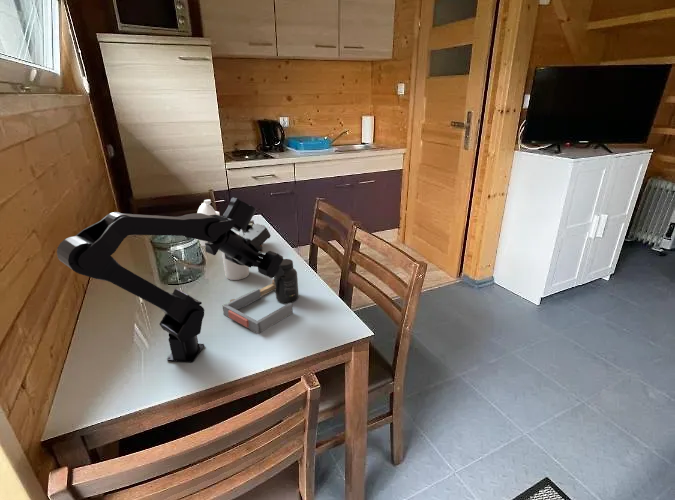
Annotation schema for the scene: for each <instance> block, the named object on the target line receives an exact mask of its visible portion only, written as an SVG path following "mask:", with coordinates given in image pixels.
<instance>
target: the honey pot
mask: <svg viewBox="0 0 675 500" xmlns="http://www.w3.org/2000/svg"><path fill="white" fill-rule="evenodd" d="M196 213H202V214H205V215H215V214H216V215H220V211H217V210H215V208H214V207H213V206H212V205H211V199H204V200H203V203H201V205H199V207H198V209H197V212H196ZM220 216H221V215H220ZM199 241H200V244H201V246H200V247H206V245H205V243H207V241H203V240H199Z"/></svg>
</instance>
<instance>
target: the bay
mask: <svg viewBox="0 0 675 500" xmlns="http://www.w3.org/2000/svg"><path fill="white" fill-rule="evenodd" d="M260 289H261V288H258V287H257V288H256V289H253V290H252V291H250V292H247V293H245V294H243V295H241V296H239V297H237V298H234V299H235V300H232V299H231V300H232V301H230V300H229V302H225V304H224V303H223V305H222V312H223V315H224V316H226V317H227V318H229V319H230V320H232V321H234V322H236V323H238V324H239V325H241V326H242V327H245V328H247V329H249V330H250V331H252V332H253V333H256V334H260V333H262V332H264V331H265V330H267V329H268V328H271V327H272V326H273V325H275V324H277V323H278V322H280V321H283V320H284V319H285V318H287V317H289V316H291V315H293V314H294V311H293V303H286V304H285V305H283V306H281V307H279V308H277V309H276V310H274V311H273V312H270V313H269V314H267V315H266V316H263V317H262V318H260V319H258V320H257V319H256V318H255V319H254V318H253V317H251V316H249V315H247V314H245V313H243V312H241V311H240V309H242V308H244V307H246V306H248V305H250V304H251V303H254V302H255V301H258V300H259V299H260V300H261V298H262V296H260Z"/></svg>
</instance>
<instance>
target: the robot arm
mask: <svg viewBox="0 0 675 500" xmlns="http://www.w3.org/2000/svg"><path fill="white" fill-rule="evenodd" d="M256 212H257V209H256V208H255V207H254V206H252V205H251V204H248V203H246V202H245V201H242V200H240V199H239V198H237V197H231V198H230V201H229V203H228V206H227V207H226V210H225V211H224V213H223V214H222V215H216V214H215V215H205V214H202V213H197V212H196V213H186V214H184V215H178V216H167V215H154V214H153V215H150V214H135V213H133V214H132V213H121V212H119V211H114V212H110V213H108V214H106V215H105V216H104V217H103V218H102V219H101V220H99V221H96V222H95V223H93V224H91V225H89V226H87V227H85V228H84V229H81V231H79V232H78V233H77V234H75V235H74V236H69V237H67V238H65V239H63V240H62V241H61V242H60V243H59V244H58V245H57V246H58V247H57V250H56V255H57V259H58V260H59V262H61V263H63V264H64V265H65V266H66V267H68V268H69V269H71V270H73V272H75V273H76V274H79V275H82V276H85V277H88V278H92V279H94V280H99V281H100V280H101V281H105V282H109V283H111V284H113V285H115V286H117V287H118V288H120V289H123V290H125V291H127V292H128V293H130V294H132V295H134V296H136V297H138V298H141V299H142V300H144V301H146V302H148V303H150V304H151V305H153V306H156V307H158V308H159V309H160V310H161V311H162V312H163V313H164V316H163V317H162V319H161V321H160V322H159V327H161V329H162V330H163V331H165V332H167V333H168V343H169V347H170V351H171V353H170V354H169V355H168V356H167V358H166V360H167V362H177V363H178V362H179V363H180V362H181V363H182V362H183V363H193V362H195V360H196V359H197V357H198V356H199V355H200V353H201V352H202V351H203V349H204V348H205V343H199V340H198V336H199V335H200V334H201V330H202V324H203V319H204V317H205V308H204V307H203V306H202V301H199V299H196V298H194V297H192V296H190V295H189V294H187V293H185V292H184V291H182V290H180V289H178V288H176V287H175V288H174V290H173V292H169V291H165V290H164V289H163V288H161V287H159V286H157V285H155V284H154V283H152V282H150V281H148V280H147V279H145V278H143V277H142V276H140V275H138V274H136V273H135V272H132V271H131V270H129V269H128V268H126V267H125V266H124V267H123V266H122V265H121V264H120V263H119V262H118V261H117V260H116V259H115V258H114V257H113V256H112V255H113V254H114V253H115V252H116V251H117V250H118V248H119V247H120V245H121V244H122V243H123V242H124V240H125V239H126V238H127V237H128V236H129V235H131V236H132V235H133V236H173V237H174V236H177V237H178V236H179V237H180V236H181V237H186V238H191V239H194V240H195V239H198V240H203V241H207V243H205V245H206V246H204V249H205V253H208V254H210V255H212V256H216V255H217V253H218V252H220V253H222V252H223V253H225V259H227V260H229V261H231V262H233V263H236V264H238V265H244V266H248V267H249V269H250V268H252V267H254V268H257V273H259V274H260V275H262V276H265V277H268V278H270V279H274V276H283V274H284V271H283V270H282V268H281V267H280V265H281V263H282V261H283V259H284V256H282V255H281V254H280V253H278V252H274V251H272V250H269V251H266V252H265V253H262V251H263V244H264V243H265V242H266V241H267V240H268V239H270V238H271V233H270V231H269V229H268V228H267V226H265V225H263V224H259V223H254V224H252V225H253V226H251V225H249V223H250V221H252V220H253V218H254V215H255V214H256ZM242 231H243V232H242ZM235 232H238V233H240V232H242V236H241V234H240V235H238V234H237V233H235ZM260 245H262V247H261V246H260ZM261 250H262V251H261Z"/></svg>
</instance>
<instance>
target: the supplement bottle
mask: <svg viewBox="0 0 675 500" xmlns="http://www.w3.org/2000/svg"><path fill="white" fill-rule="evenodd" d="M280 267H281V268H282V270H283V271H284V274H283V276H274V277H273V279H274V282H275V290H274V291H275V292H274V293H275V299H276V300H277V302H279V303H282V304H288V303H291V304H293V303H294V302H296V301H297V300H298V299H299V297H300V295H299V294H300V293H299V282H298V281H299V279H298V272H297V270H296V269H295V268H294V262H293V260H292V259H291V258H283V261H282V263H281V265H280Z"/></svg>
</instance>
